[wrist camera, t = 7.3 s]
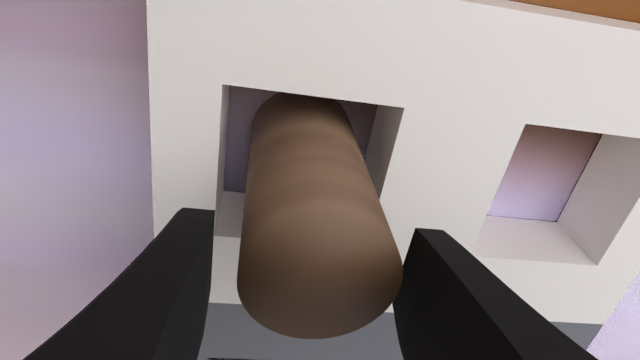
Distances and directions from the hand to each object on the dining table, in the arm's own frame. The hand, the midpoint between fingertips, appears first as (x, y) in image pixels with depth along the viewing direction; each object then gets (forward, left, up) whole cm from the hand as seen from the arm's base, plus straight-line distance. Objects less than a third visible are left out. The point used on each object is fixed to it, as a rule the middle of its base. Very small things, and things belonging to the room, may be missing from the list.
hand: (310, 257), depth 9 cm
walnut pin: (0, 0, -6) cm, 6 cm away
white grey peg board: (-5, -4, -6) cm, 9 cm away
